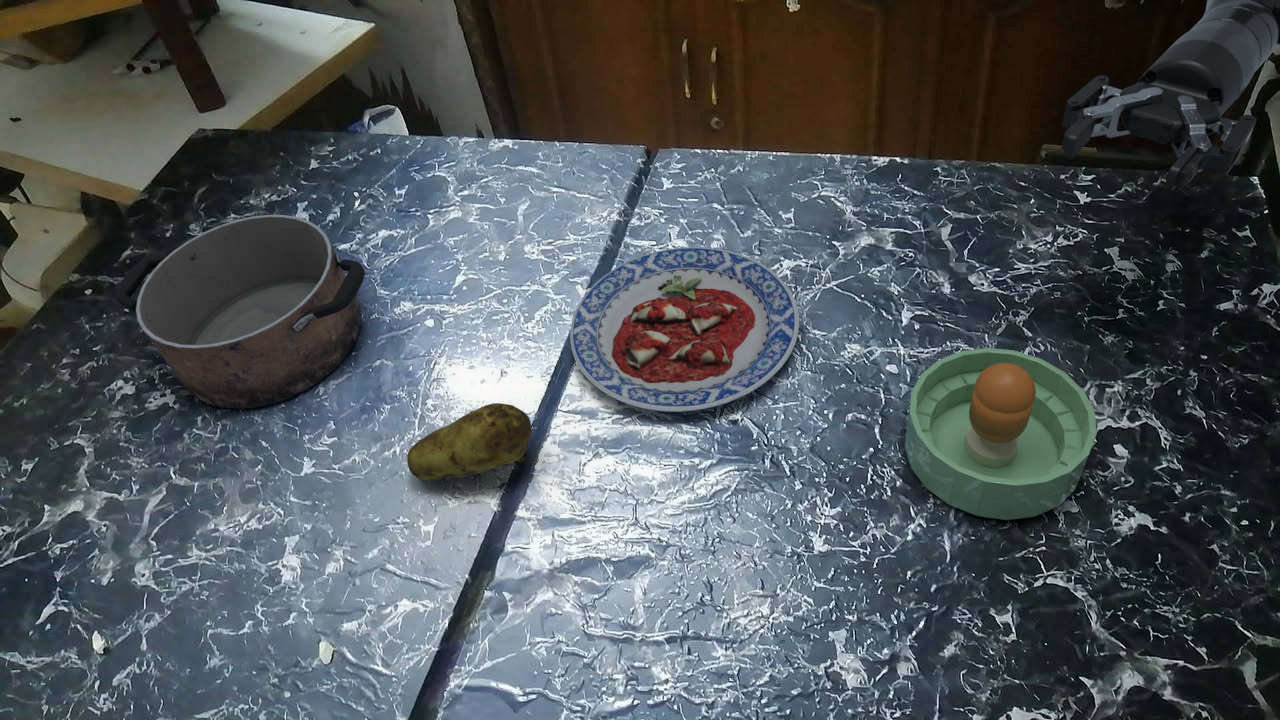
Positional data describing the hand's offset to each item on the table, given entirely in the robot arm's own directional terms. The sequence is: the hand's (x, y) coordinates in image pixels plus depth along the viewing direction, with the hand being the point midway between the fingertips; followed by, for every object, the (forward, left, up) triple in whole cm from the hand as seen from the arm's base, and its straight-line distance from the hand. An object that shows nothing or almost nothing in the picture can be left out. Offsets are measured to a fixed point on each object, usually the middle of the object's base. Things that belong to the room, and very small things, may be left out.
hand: (1118, 164), depth 78 cm
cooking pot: (+88, -19, -25) cm, 93 cm away
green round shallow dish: (+10, +10, -25) cm, 29 cm away
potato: (+61, +4, -25) cm, 66 cm away
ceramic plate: (+38, -11, -25) cm, 47 cm away
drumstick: (+10, +10, -25) cm, 28 cm away
